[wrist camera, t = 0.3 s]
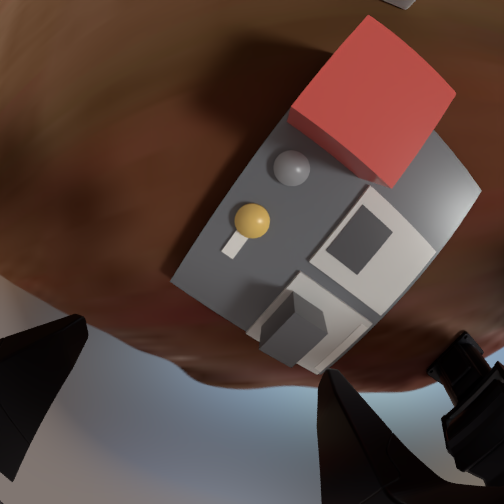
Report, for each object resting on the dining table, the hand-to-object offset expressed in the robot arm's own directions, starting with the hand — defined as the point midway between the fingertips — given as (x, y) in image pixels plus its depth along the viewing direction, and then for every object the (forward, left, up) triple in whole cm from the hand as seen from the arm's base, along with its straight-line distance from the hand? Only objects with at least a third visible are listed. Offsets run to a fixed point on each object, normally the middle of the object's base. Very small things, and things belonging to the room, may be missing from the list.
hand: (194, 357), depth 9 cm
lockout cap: (-1, -13, -12) cm, 17 cm away
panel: (-5, -5, -14) cm, 15 cm away
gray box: (-7, +2, -12) cm, 14 cm away
